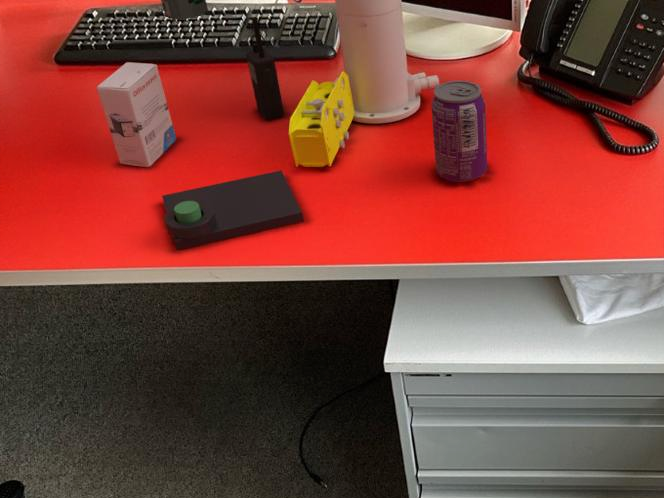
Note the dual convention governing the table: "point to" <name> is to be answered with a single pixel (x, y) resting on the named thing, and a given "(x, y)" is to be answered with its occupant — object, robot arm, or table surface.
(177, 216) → the button
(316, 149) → the yellow toy chassis
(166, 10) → the can
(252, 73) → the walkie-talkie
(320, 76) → the table surface
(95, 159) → the table surface
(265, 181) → the scale
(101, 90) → the ink box
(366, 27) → the robot arm
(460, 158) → the beverage can
